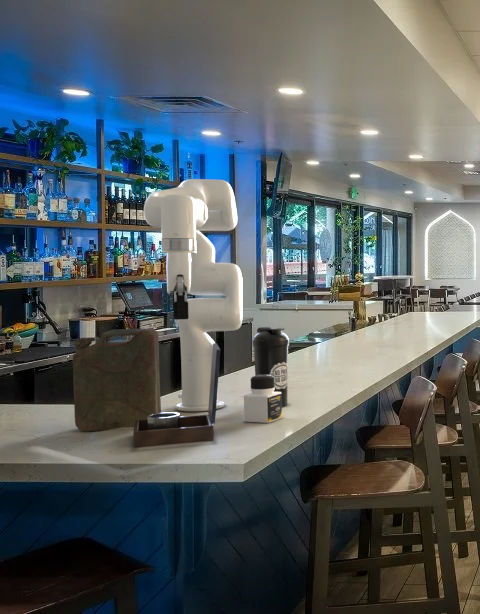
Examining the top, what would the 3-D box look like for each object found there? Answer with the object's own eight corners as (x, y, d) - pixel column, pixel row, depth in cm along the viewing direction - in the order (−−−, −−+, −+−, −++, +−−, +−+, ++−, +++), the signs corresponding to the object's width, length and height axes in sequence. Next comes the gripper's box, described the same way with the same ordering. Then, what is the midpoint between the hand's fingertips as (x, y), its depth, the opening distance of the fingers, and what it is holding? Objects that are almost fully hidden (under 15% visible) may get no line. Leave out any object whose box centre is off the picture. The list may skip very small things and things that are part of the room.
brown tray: (133, 451, 177) (133, 432, 177) (135, 437, 190) (135, 420, 190) (213, 443, 184) (213, 425, 184) (210, 431, 197) (209, 414, 197)
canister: (162, 422, 208) (159, 327, 206) (156, 428, 200) (153, 330, 198) (82, 426, 203) (79, 329, 201) (72, 433, 195) (69, 332, 193)
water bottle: (269, 410, 224) (268, 329, 223) (246, 406, 229) (244, 328, 228) (297, 404, 233) (296, 327, 231) (274, 401, 238) (273, 325, 237)
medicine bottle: (268, 423, 207) (267, 377, 206) (243, 422, 208) (242, 377, 207) (282, 417, 214) (281, 374, 213) (258, 416, 215) (257, 373, 214)
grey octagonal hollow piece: (143, 438, 185) (142, 415, 185) (170, 433, 191) (169, 411, 190) (158, 442, 182) (158, 419, 181) (185, 437, 187) (185, 414, 187)
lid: (216, 349, 183) (220, 349, 183) (213, 343, 196) (216, 343, 197) (211, 423, 184) (215, 423, 184) (208, 412, 197) (211, 412, 197)
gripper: (162, 247, 195) (163, 316, 196) (161, 245, 179) (163, 320, 180) (195, 248, 198) (196, 316, 199) (197, 246, 182) (198, 319, 183)
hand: (180, 318), depth 189 cm, fingers open, 9 cm apart
